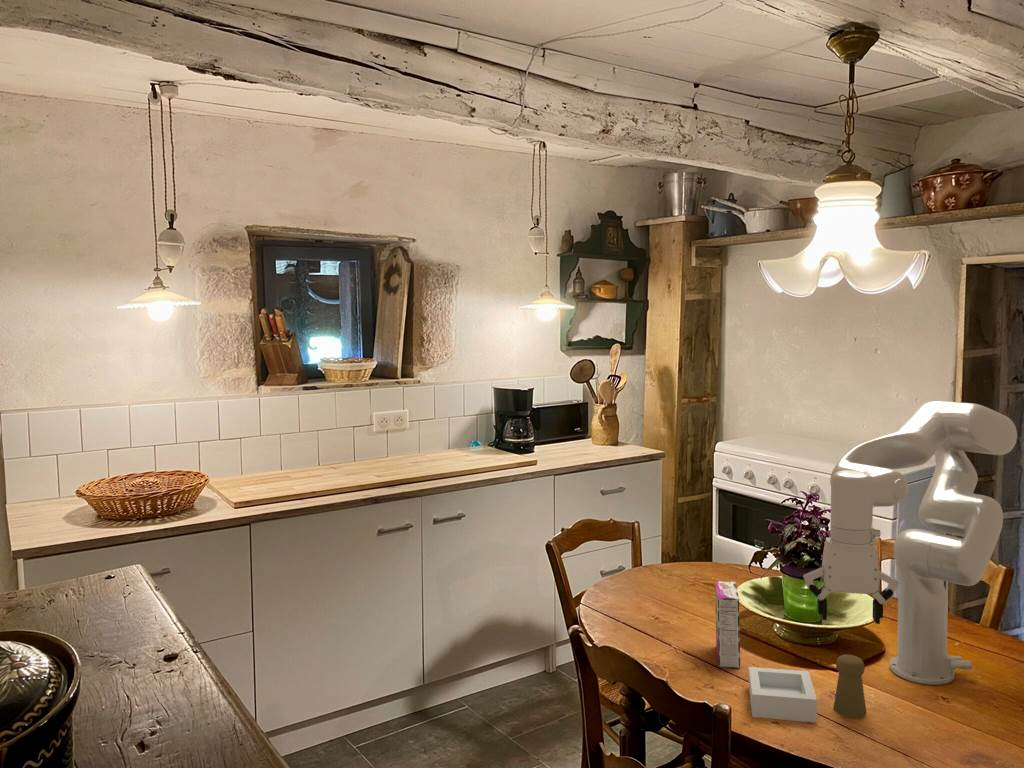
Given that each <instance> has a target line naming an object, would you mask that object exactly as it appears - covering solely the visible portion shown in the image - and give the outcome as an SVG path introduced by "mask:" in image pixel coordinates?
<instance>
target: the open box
mask: <svg viewBox="0 0 1024 768" xmlns="http://www.w3.org/2000/svg"><path fill="white" fill-rule="evenodd" d="M748 691H749V692H748V693H749V699H750V700H749V701H750V708H751V715H752V718H760V717H762V719H770V720H771V719H774V720H784V721H792V722H793V721H795V722H806V723H818V699H817V696H816V691H815V688H814V685H813V681H812V678H811V675H810V671H809V670H797V669H783V668H782V669H781V668H769V667H755V666H748Z"/></svg>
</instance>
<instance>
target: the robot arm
mask: <svg viewBox="0 0 1024 768" xmlns="http://www.w3.org/2000/svg"><path fill="white" fill-rule="evenodd" d="M1017 439H1018V431H1017V427H1016V425H1015V423H1014V422H1013V420H1012V419H1011V418H1010V417H1008V416H1007V415H1004V414H1002V413H1000V412H998V411H996V410H994V409H991V408H990V407H987V406H984V405H982V404H978V403H974V402H973V403H971V402H958V401H948V400H933V401H928V402H926V403H923V404H922V405H921V406H920V407H918V408H917V410H915V411H914V413H912V415H910V416H909V418H907V419H906V420H905V422H904V423H902V425H900V426H899V427H898V428H897V430H896V431H894V432H893V433H890V434H886V435H883V436H880V437H877V438H873V439H871V440H868V441H866V442H863V443H861V444H859V445H856V446H855V447H853V448H851V450H849V451H848V452H847V453H846V454H844V456H843V457H842V458H841V459H840V460H839V461H838V462H837V463H836V465H835V466H834V468H833V469H832V472H831V474H830V479H829V480H830V481H829V483H830V528H829V529H830V531H829V532H830V533H829V534H830V537H826V538H825V541H824V545H823V552H822V559H821V560H822V561H821V567H819V568H816V569H814V570H811V571H809V572H807V573H805V574H803V580H804V582H805V584H806V586H807V587H808V589H809V591H810V592H811V593H812V594H814V596H815V597H816V598H817V614H818V615H820V616H821V619H822V621H827V619H828V601H827V596H829V595H830V594H831V593H832V592H833V593H844V594H859V595H863V594H864V595H872V596H873V597H874V598H873V599H872V620H873V621H874V623H875V624H877V625H880V623H881V619H883V618H884V604H885V603H886V601H888V600H889V599H890V598H891V597H893V596H894V593H895V591H896V590H897V589H898V591H897V592H898V593H897V599H898V600H897V645H896V646H897V649H896V652H897V655H896V656H893V657H892V658H890V659H889V668H890V670H891V671H892V672H893V673H894V674H895V675H897V676H898V677H900V678H903V679H904V680H907V681H910V682H914V683H917V684H921V685H922V684H924V685H932V686H933V685H934V686H936V685H947V684H949V683H950V682H952V681H953V680H954V679H955V670H956V669H960V670H966V671H968V670H969V671H970V670H972V669H973V665H972V661H971V660H969V659H962V656H960V655H950V654H948V651H947V650H948V649H947V648H948V644H947V643H948V612H949V611H948V608H949V605H948V604H949V602H948V600H949V599H948V598H949V597H948V593H947V590H946V588H945V585H944V583H943V582H942V581H944V582H947V583H952V584H955V585H961V586H966V587H970V586H971V587H972V586H975V585H977V584H978V583H979V582H980V581H981V580H982V578H983V576H984V575H985V573H986V571H987V568H988V565H989V563H990V560H991V558H992V555H993V553H994V550H995V548H996V545H997V542H998V540H999V538H1000V534H1001V532H1002V529H1003V522H1004V512H1003V509H1002V506H1001V505H1000V503H999V501H997V500H996V499H994V498H992V497H991V496H987V495H983V494H979V493H974V491H975V489H976V486H977V485H978V484H977V483H978V481H979V480H978V472H977V470H976V468H975V467H974V465H973V463H972V462H971V460H970V459H969V458H968V455H967V454H966V452H970V453H976V454H977V453H978V454H985V455H991V456H993V455H994V456H1003V455H1006V454H1008V453H1010V452H1012V450H1013V449H1014V448H1015V445H1016V443H1017ZM933 456H934V459H935V469H934V472H933V474H932V477H931V479H930V482H929V484H928V485H927V488H926V492H925V493H924V495H923V497H922V500H921V503H920V505H919V509H918V514H917V517H918V520H919V521H920V523H921V524H922V526H924V527H926V528H928V529H931V530H926V529H923V528H922V529H920V528H908V529H904V530H903V531H901V532H900V533H898V535H897V536H896V537H895V539H894V543H893V555H894V561H895V566H896V572H897V574H896V575H897V579H896V578H894V577H892V576H890V575H888V574H887V573H885V572H883V571H882V570H880V565H879V556H878V555H879V553H878V548H877V544H876V541H875V540H874V539H875V538H880V537H881V534H882V533H881V530H880V529H876V528H874V527H873V516H874V515H873V513H874V512H873V510H874V509H873V508H876V507H886V508H887V507H888V508H889V507H892V506H895V505H898V504H899V503H901V502H902V501H903V500H904V499H905V498H906V496H907V494H908V490H909V489H908V488H909V487H908V486H909V485H908V481H907V479H906V477H905V476H904V475H903V473H901V472H900V471H898V470H900V469H908V468H913V467H918V466H919V467H920V466H922V465H924V464H926V463H927V462H929V461H930V460H931V459H932V458H933ZM932 530H933V531H932ZM958 536H959V537H958ZM818 578H821V582H822V583H823V584H822V585H821V586H820V587H819V588H818V586H817V585H816V584H815V583H814V580H816V579H818ZM880 580H881V581H883V582H885V583H887V587H886V588H884V589H883V590H882V591H881V592H880V584H881V583H880Z"/></svg>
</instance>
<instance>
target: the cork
mask: <svg viewBox="0 0 1024 768" xmlns="http://www.w3.org/2000/svg"><path fill="white" fill-rule="evenodd" d="M835 663H836V664H835V666H836V670H837V671H838V676H837V678H838V679H837V684H836V691H835V697H834V702H833V703H834V704H833V710H834V712H835V713H836V714H838V715H840V716H843V717H845V718H849V719H862V718H864V717H866V715H867V707H866V705H867V704H866V701H865V699H866V698H865V693H864V684H863V677H862V675H864V673H865V666H866V665H865V663H864V661H863V659H861V658H860V657H859V656H856V655H854V654H841V655H840V656H838V657H837V660H836V662H835Z"/></svg>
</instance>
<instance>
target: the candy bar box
mask: <svg viewBox="0 0 1024 768" xmlns="http://www.w3.org/2000/svg"><path fill="white" fill-rule="evenodd" d="M714 595H715V596H714V599H715V600H714V602H715V603H714V606H715V608H714V609H715V638H716V639H715V646H716V651H717V652H716V654H717V659H718V666H719V668H728V669H730V668H732V669H740V668H741V637H740V636H741V632H740V630H741V629H740V627H741V626H740V620H741V619H740V597H739V591H738V587H737V583H736V582H735V581H727V580H725V581H724V580H717V581H714Z"/></svg>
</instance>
